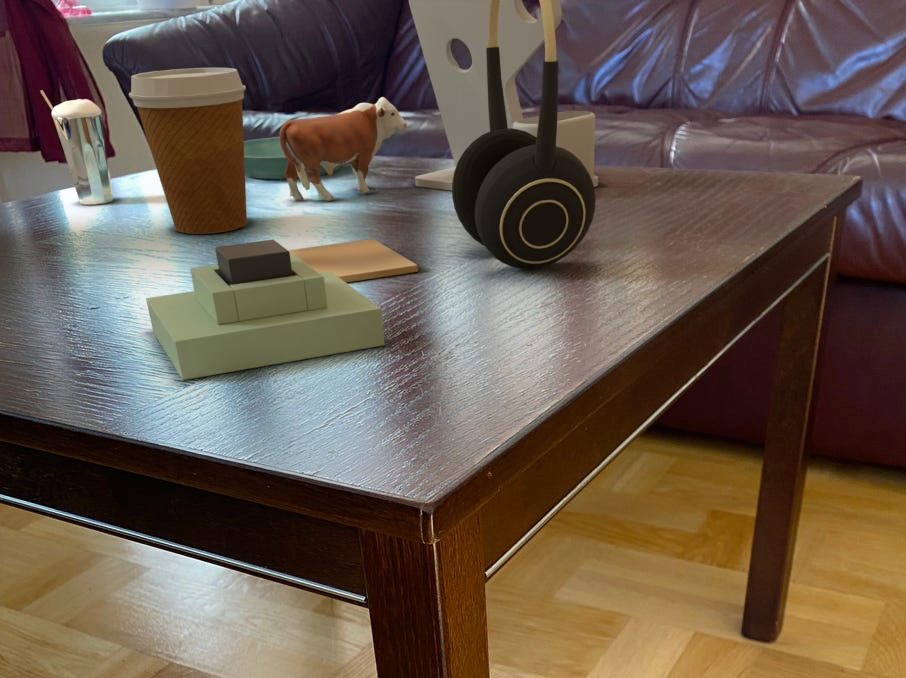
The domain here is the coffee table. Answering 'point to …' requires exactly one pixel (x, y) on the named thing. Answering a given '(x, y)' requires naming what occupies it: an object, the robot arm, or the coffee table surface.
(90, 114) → the milkshake
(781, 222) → the coffee table surface
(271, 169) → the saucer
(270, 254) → the key
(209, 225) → the disposable coffee cup
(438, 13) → the phone holder
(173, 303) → the tiered green pedestal
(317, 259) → the coaster
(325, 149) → the bull figurine
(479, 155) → the headphones
